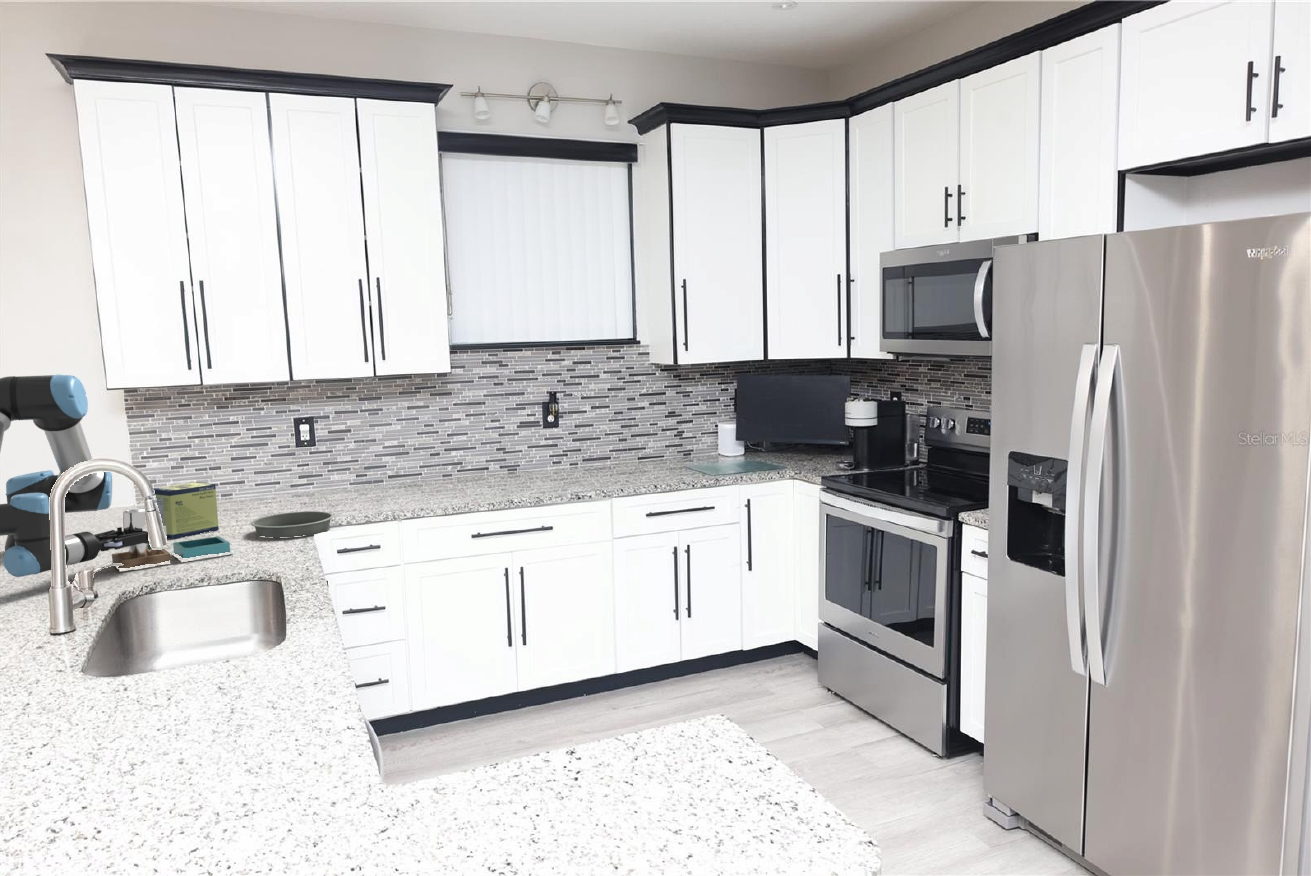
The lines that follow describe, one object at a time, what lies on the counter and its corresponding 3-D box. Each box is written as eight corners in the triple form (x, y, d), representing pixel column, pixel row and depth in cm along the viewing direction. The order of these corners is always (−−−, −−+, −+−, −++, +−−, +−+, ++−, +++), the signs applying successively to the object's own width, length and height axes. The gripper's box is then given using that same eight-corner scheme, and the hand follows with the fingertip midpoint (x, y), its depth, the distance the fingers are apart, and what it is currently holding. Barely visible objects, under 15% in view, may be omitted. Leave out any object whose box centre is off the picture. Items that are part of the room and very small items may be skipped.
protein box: (220, 530, 278) (216, 483, 276) (172, 540, 265) (168, 490, 263) (201, 527, 283) (197, 481, 282) (153, 536, 270) (149, 488, 268)
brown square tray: (120, 572, 225) (119, 561, 224) (112, 564, 234) (111, 553, 233) (171, 564, 232) (170, 553, 232) (162, 556, 241) (161, 546, 241)
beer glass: (144, 560, 237) (139, 507, 236) (162, 562, 235) (157, 508, 233) (120, 566, 231) (115, 512, 230) (139, 568, 228) (134, 513, 227)
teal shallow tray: (181, 562, 234) (180, 550, 233) (171, 555, 243) (170, 542, 243) (232, 554, 242) (232, 542, 242) (221, 547, 252) (220, 535, 251)
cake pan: (234, 540, 263) (233, 526, 262) (280, 524, 287) (279, 510, 287) (309, 540, 260) (308, 526, 259) (348, 524, 284) (347, 510, 283)
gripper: (49, 560, 219) (131, 541, 241) (104, 565, 212) (183, 545, 234) (46, 532, 218) (128, 515, 240) (101, 536, 212) (180, 518, 233)
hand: (155, 530), depth 237 cm, fingers closed on beer glass, 7 cm apart
